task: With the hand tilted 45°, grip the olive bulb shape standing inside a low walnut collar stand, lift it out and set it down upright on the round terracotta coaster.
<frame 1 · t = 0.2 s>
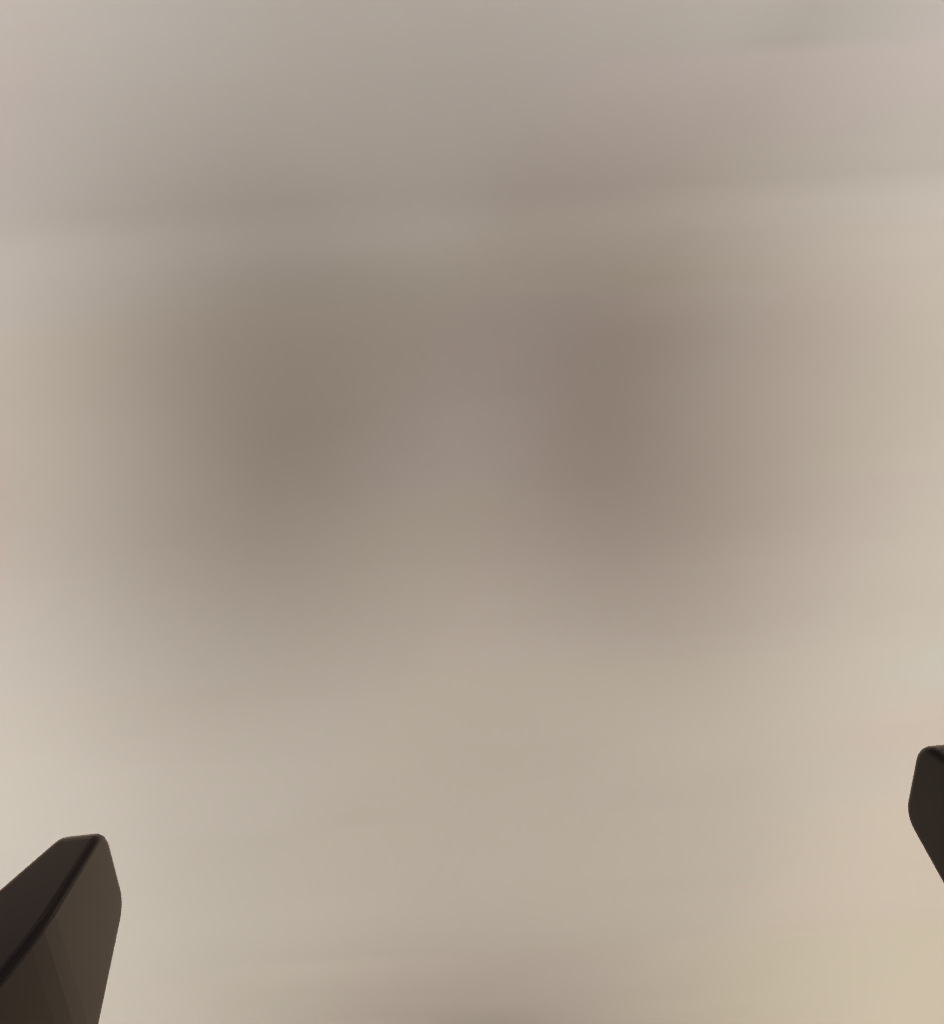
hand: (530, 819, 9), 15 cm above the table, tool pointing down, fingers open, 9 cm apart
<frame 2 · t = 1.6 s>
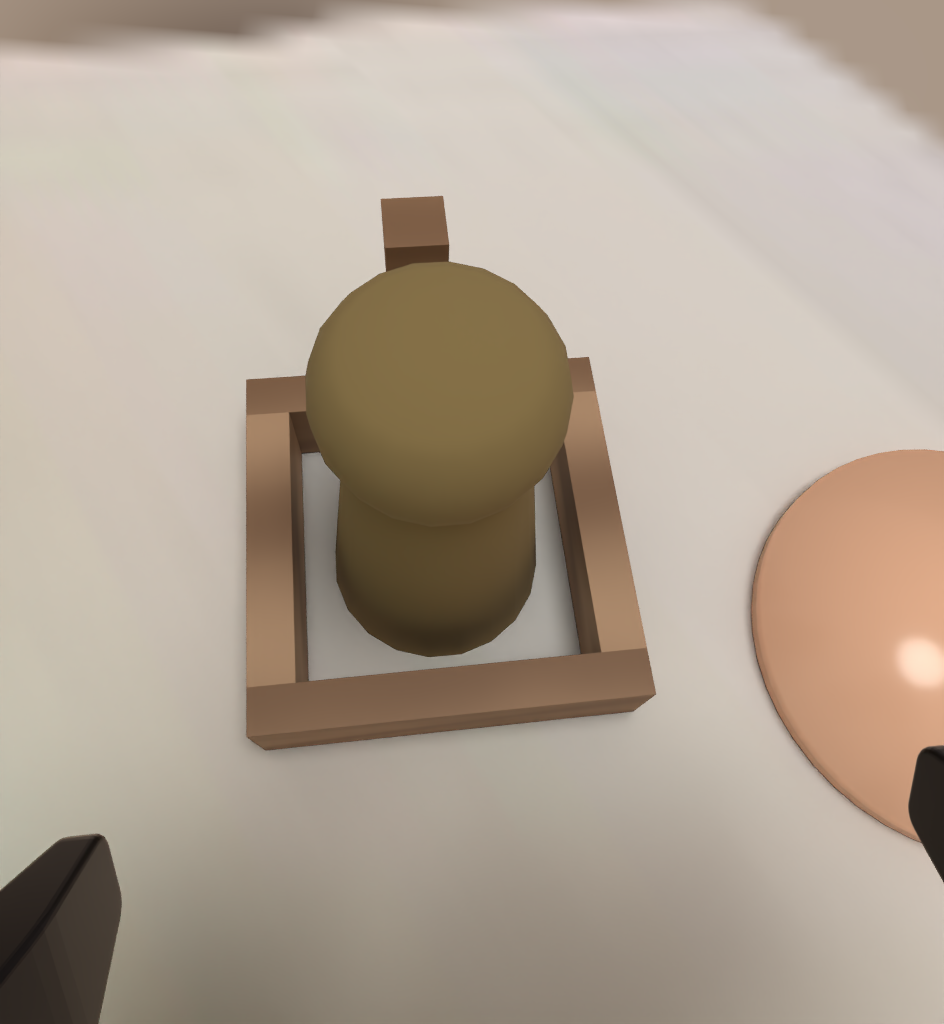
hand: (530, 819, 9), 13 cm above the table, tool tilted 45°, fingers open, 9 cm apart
olive bulb shape: (435, 560, 25), resting in collar stand
collar stand: (436, 557, 24), on the table
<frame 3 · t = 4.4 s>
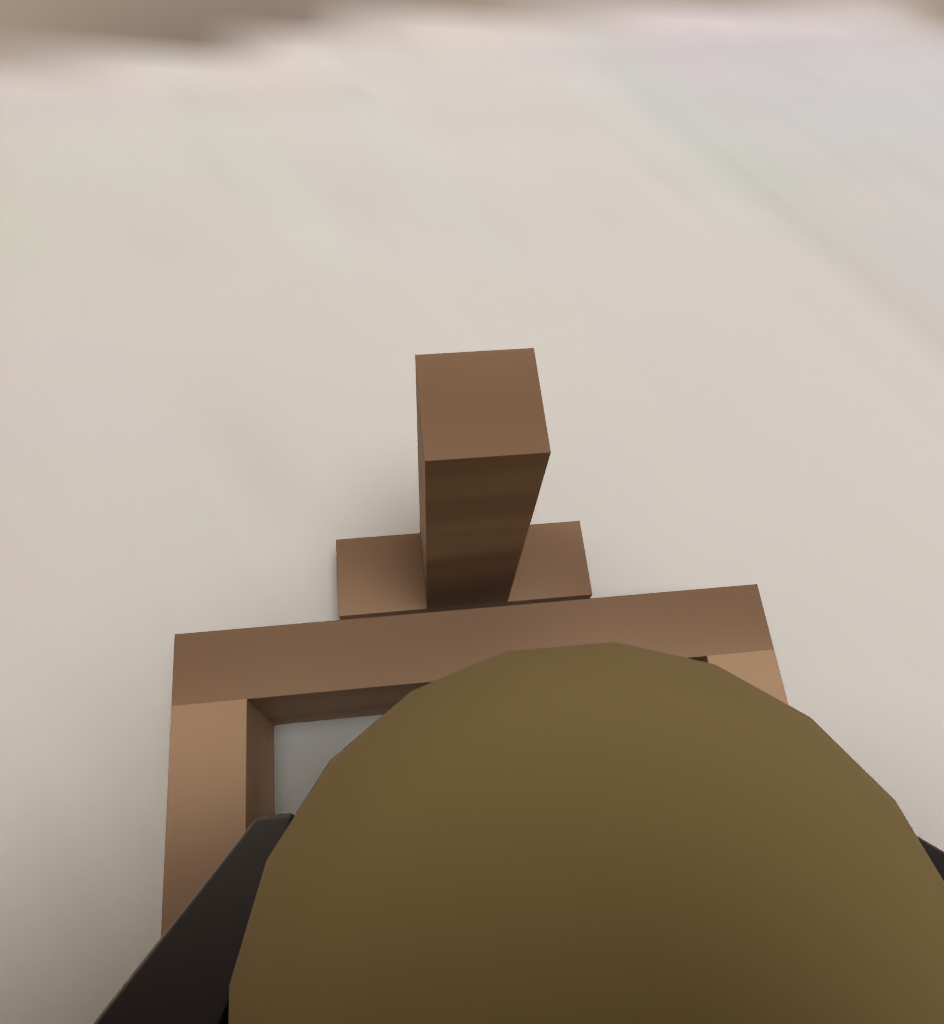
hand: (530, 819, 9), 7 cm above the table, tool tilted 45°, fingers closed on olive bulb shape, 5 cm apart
olive bulb shape: (497, 925, 14), resting in collar stand, touching gripper
collar stand: (498, 926, 14), on the table
when the fingers open (8 cm above the table, at t = 8.2 s): olive bulb shape stays where it is, resting on coaster.
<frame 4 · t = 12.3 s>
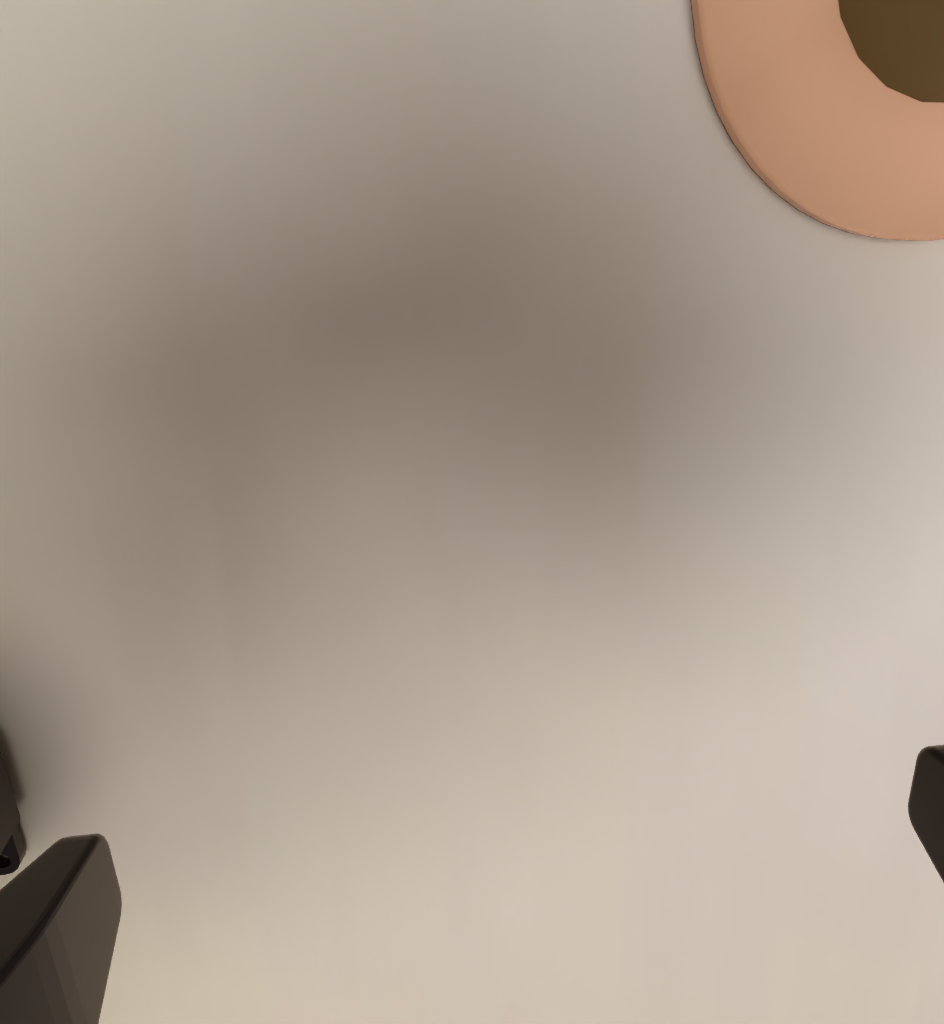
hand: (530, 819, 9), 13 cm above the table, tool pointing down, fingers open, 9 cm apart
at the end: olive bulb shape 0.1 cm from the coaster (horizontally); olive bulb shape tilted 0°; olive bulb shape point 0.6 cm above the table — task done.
